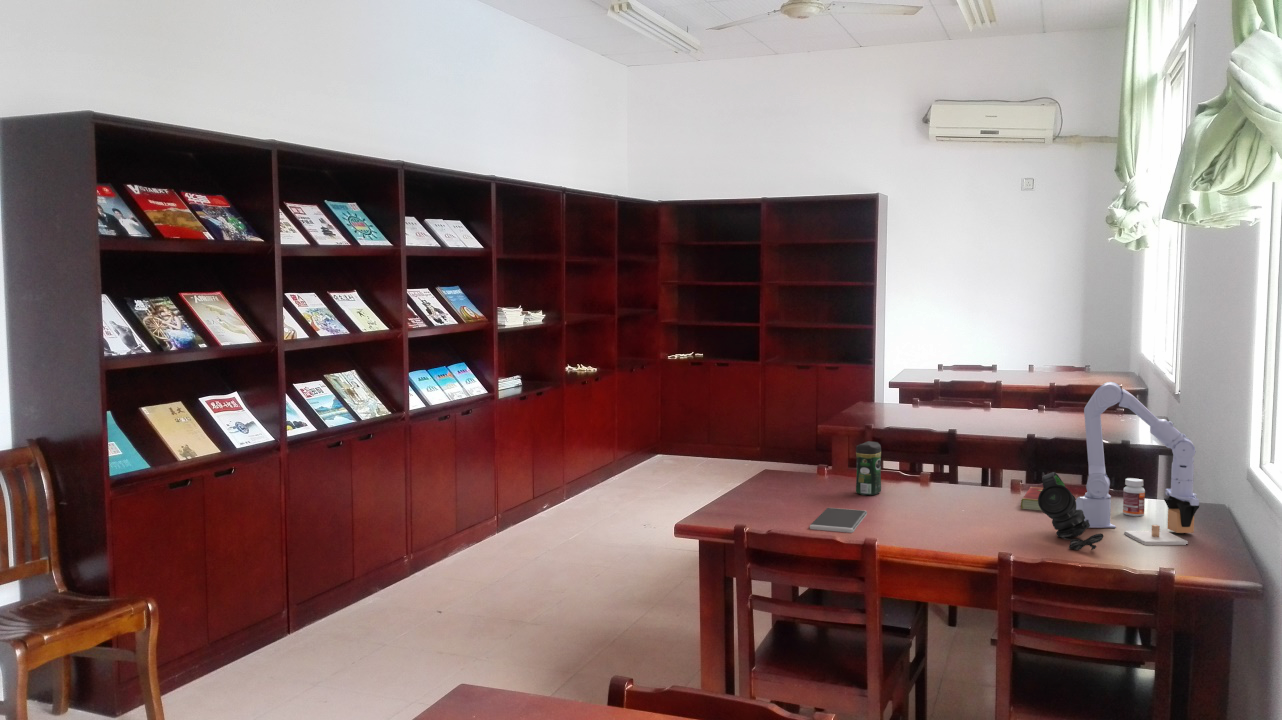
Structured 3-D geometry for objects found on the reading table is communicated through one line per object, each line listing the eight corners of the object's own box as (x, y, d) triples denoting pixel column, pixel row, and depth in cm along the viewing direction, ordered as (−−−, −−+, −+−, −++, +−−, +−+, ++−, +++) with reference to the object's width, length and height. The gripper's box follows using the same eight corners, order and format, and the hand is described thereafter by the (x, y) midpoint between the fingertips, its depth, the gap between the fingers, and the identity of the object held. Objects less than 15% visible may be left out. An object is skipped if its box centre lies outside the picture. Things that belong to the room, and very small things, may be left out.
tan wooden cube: (1176, 532, 279) (1177, 512, 278) (1167, 528, 284) (1168, 508, 283) (1193, 532, 279) (1194, 512, 278) (1184, 528, 284) (1185, 508, 283)
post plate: (1144, 544, 269) (1145, 531, 268) (1124, 534, 281) (1124, 520, 280) (1187, 544, 268) (1188, 531, 268) (1165, 534, 280) (1165, 520, 280)
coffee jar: (863, 489, 346) (863, 439, 345) (883, 492, 341) (884, 441, 340) (852, 494, 338) (852, 442, 337) (873, 497, 334) (874, 444, 332)
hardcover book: (1020, 510, 314) (1021, 497, 314) (1029, 497, 333) (1029, 486, 332) (1060, 514, 309) (1060, 501, 308) (1066, 501, 327) (1066, 489, 326)
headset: (1068, 575, 269) (1054, 508, 293) (1117, 561, 263) (1099, 493, 286) (1040, 532, 263) (1028, 467, 287) (1090, 516, 257) (1074, 451, 280)
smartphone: (867, 515, 309) (867, 510, 309) (852, 534, 284) (853, 528, 284) (826, 512, 314) (826, 507, 314) (809, 530, 290) (809, 525, 289)
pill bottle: (1143, 517, 301) (1144, 482, 300) (1121, 515, 304) (1122, 480, 304) (1145, 513, 306) (1146, 479, 305) (1124, 511, 310) (1125, 477, 309)
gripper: (1210, 484, 273) (1208, 530, 274) (1182, 474, 287) (1180, 518, 288) (1185, 484, 273) (1183, 530, 274) (1159, 474, 287) (1157, 518, 288)
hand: (1180, 524), depth 281 cm, fingers closed on tan wooden cube, 5 cm apart
